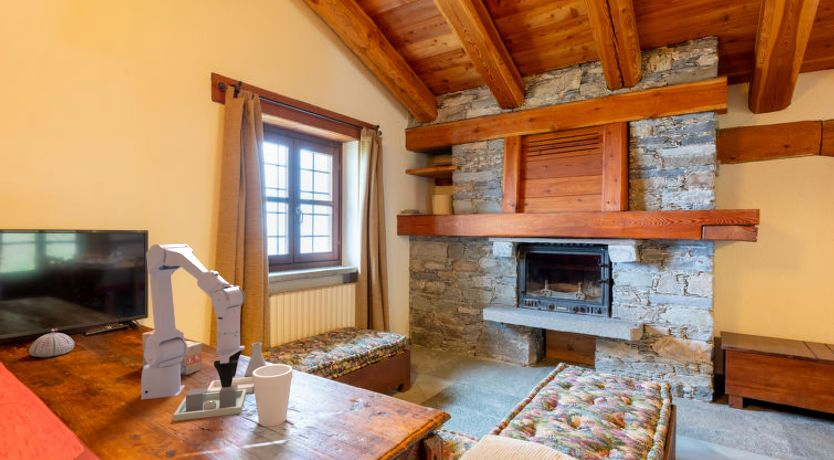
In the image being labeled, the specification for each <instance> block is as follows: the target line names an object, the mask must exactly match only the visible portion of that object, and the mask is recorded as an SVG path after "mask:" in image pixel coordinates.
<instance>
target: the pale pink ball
mask: <svg viewBox="0 0 834 460" xmlns="http://www.w3.org/2000/svg"><path fill="white" fill-rule="evenodd" d="M210 409H216V402H215V401H213V400H209V401H207V402H206V403H205V404H204V410H210Z"/></svg>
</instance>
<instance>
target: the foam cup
mask: <svg viewBox="0 0 834 460" xmlns="http://www.w3.org/2000/svg"><path fill="white" fill-rule="evenodd" d="M292 380H293V367H292V366H291V365H290V364H289V365H287V364H285V363H284V364H282V363H279V364H278V363H277V364H276V363H274V364H268V365H267V364H266V366H263V367H259V368H257V369H256V370H254V371H253V373H252V383H253V385H254V392H253V393H254V397H255V404H256V411H257V419H258V423H259V424H260V426H263V427H275V426H279V425H281V424H283V423H285V421H287V416H288V409H289V399H290V393H291V386H292Z"/></svg>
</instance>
